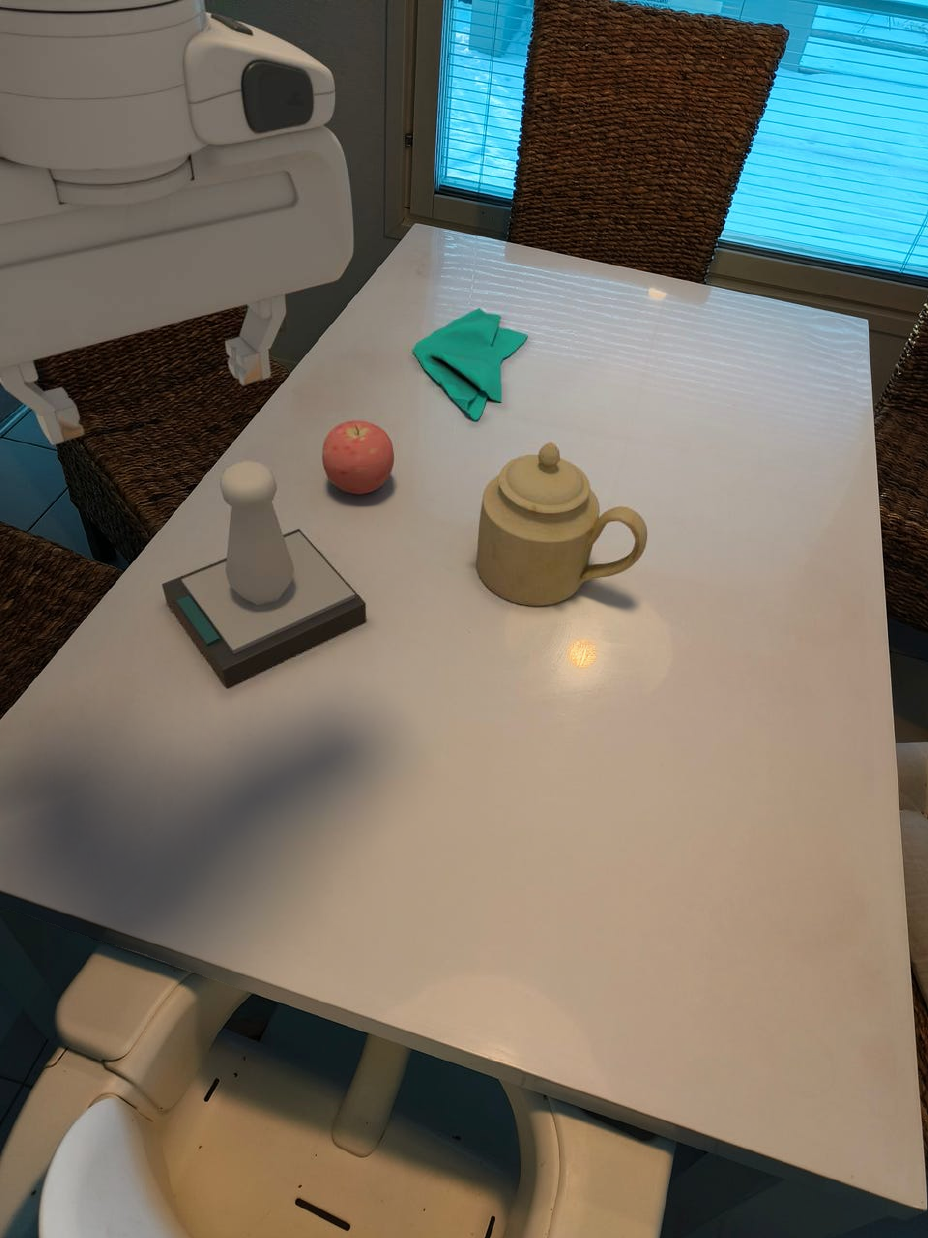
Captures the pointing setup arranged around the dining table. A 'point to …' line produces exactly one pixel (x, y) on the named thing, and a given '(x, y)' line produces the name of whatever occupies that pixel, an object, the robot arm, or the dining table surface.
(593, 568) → the sugar bowl
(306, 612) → the scale
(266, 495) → the salt shaker
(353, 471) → the apple
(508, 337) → the cloth
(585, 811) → the dining table surface
